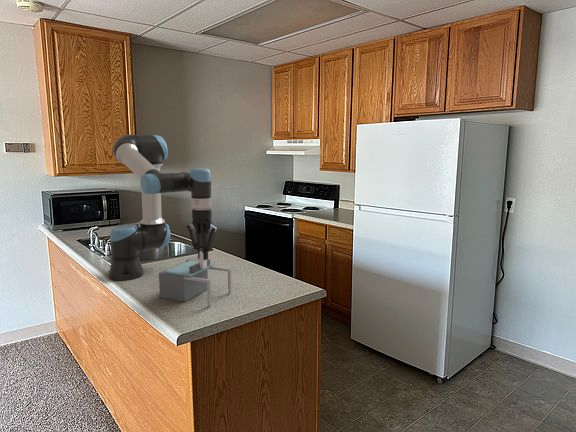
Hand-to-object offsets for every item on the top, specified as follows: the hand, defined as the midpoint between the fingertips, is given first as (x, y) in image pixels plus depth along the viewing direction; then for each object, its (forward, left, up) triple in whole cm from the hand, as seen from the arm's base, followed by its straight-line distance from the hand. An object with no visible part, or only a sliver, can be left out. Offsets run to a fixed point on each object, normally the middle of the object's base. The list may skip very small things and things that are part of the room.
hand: (203, 267), depth 162 cm
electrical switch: (-19, +22, -13) cm, 32 cm away
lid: (-7, 0, -2) cm, 7 cm away
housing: (-4, 0, -12) cm, 13 cm away
